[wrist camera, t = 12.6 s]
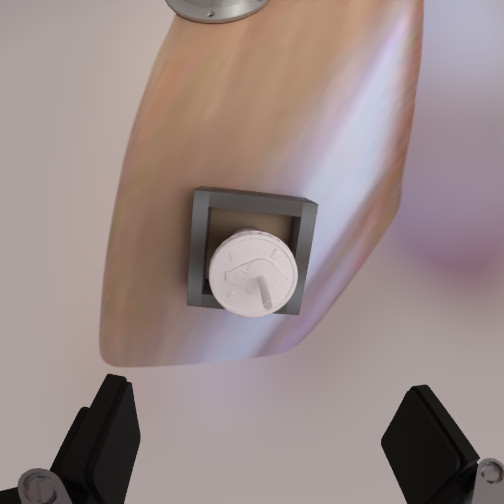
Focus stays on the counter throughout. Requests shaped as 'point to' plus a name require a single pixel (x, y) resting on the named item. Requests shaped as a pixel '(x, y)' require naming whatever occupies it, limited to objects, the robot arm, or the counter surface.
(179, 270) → the counter surface
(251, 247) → the smoothie
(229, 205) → the frame
